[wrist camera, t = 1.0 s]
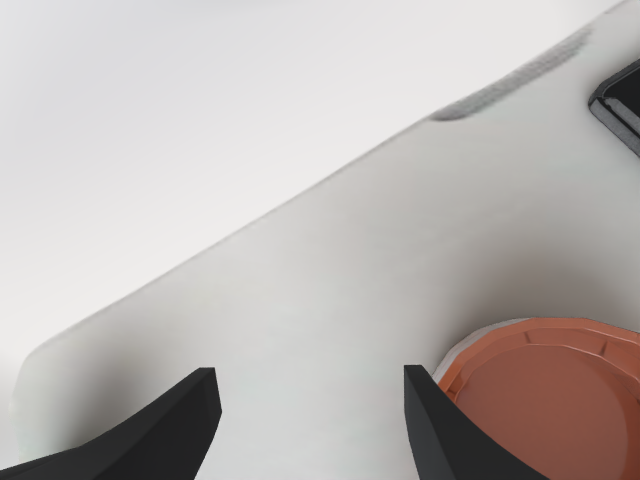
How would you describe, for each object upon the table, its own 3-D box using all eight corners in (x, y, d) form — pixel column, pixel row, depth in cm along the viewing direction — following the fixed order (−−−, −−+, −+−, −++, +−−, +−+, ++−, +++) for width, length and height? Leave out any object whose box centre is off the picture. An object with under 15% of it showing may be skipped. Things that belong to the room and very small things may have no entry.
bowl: (712, 597, 17) (842, 719, 11) (430, 545, 20) (432, 620, 15) (655, 320, 20) (736, 319, 15) (418, 318, 23) (417, 316, 18)
